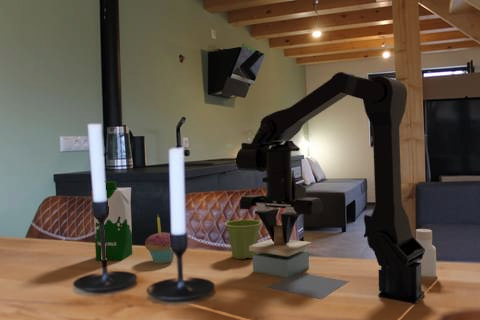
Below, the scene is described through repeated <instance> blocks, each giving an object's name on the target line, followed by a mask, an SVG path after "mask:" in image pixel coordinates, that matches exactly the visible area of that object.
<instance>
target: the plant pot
mask: <svg viewBox="0 0 480 320" xmlns="http://www.w3.org/2000/svg"><path fill="white" fill-rule="evenodd" d="M261 225H262V220H256V219H236V220H229V221H225V223H224V226H225V227H226V231H227V232H228V238H229V244H230V250H231V255H232V257H233V258H234V259H236V260H237V259H238V260H245V259H253V255H254V254H257V253H258V252H255V251H249V246H251V245H254V244H257V243H259V242H258V241H259V232H260V228H261Z"/></svg>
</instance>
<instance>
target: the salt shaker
mask: <svg viewBox="0 0 480 320" xmlns="http://www.w3.org/2000/svg"><path fill="white" fill-rule="evenodd" d="M415 239H416V240H417V241H418V242H419V243H420V244H421V245H422V246H423V248H424V249H425V253H424V255H423V258H422V259H421V260H419V261H417V262H419V263H421V277H425V278H426V277H429V278H433V277H434V278H436V277H437V249H436V247H435V245H433V230H431V229H428V228H417V229H415Z"/></svg>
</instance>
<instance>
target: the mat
mask: <svg viewBox="0 0 480 320" xmlns="http://www.w3.org/2000/svg"><path fill="white" fill-rule="evenodd" d="M348 283H350V280H349V281H348V280H343V279H339V278H333V277H325V276H321V275H317V274H316V275H315V274H311V273H310V274H309V273H303V272H299V273H297V274H295V275H293V276H291V277H289V278H285V277H283V278H282V279H279V280H277V281H276V282H274V283H272V284H270V285H267V286H265V288H266V289H271V290H275V291H281V292H285V293H289V294H293V295H299V296H303V297H307V298H311V299H318V300H323V299H324V298H326V297H328V296H329V295H331V294H332V293H334V292H335V291H337V290H338V289H340V288H342V287H343V286H345V285H346V284H348Z"/></svg>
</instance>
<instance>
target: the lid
mask: <svg viewBox="0 0 480 320" xmlns="http://www.w3.org/2000/svg"><path fill="white" fill-rule="evenodd" d="M310 248H312V242H311V241H305V240H304V241H302V240H296V239H290V240H289V243H287V244H286V243H285V242H284V238H283V230H282V224H279V225H278V224H277V225H276V226H274V242H273V241H272V239H271V238H270V239H266V240H263V241H261V242H257V244H254V245H251V246H249V251H255V252H257V253H260V252H262V253H268V254H275V255H281V256H291V255H293V254H295V253H298V252H300V251H306V250H308V249H310Z"/></svg>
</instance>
